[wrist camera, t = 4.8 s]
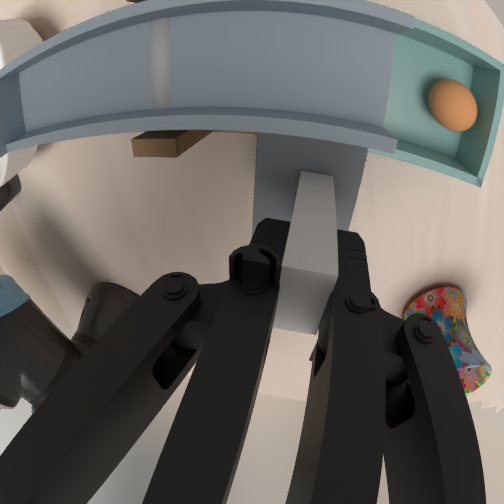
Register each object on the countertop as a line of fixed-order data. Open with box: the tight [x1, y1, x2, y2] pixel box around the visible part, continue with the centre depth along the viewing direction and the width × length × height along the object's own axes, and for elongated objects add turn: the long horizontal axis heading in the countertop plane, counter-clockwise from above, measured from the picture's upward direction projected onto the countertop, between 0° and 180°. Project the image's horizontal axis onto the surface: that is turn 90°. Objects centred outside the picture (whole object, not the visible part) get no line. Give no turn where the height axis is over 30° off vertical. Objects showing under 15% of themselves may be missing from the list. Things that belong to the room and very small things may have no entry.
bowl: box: [0, 19, 43, 187], centre depth 15 cm, size 20×20×8 cm
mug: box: [403, 287, 491, 395], centre depth 22 cm, size 12×9×11 cm
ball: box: [428, 79, 477, 132], centre depth 11 cm, size 4×4×4 cm
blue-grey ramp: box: [0, 0, 414, 237], centre depth 11 cm, size 22×13×4 cm, turn 88°
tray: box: [368, 18, 504, 187], centre depth 12 cm, size 12×9×4 cm
